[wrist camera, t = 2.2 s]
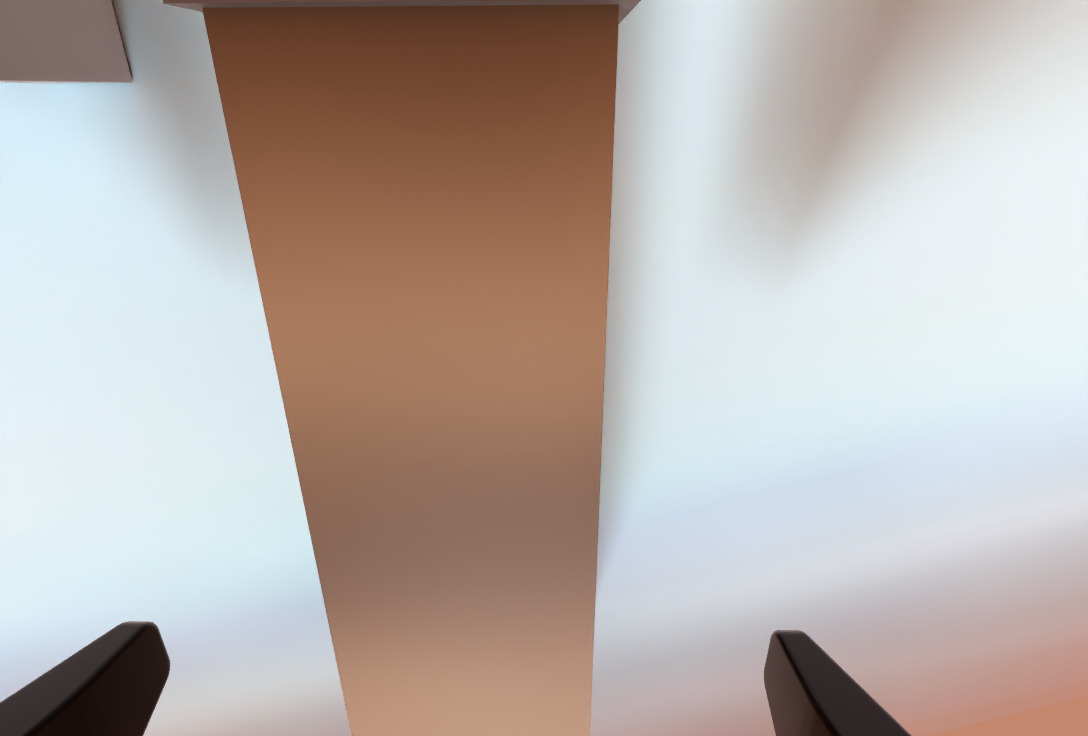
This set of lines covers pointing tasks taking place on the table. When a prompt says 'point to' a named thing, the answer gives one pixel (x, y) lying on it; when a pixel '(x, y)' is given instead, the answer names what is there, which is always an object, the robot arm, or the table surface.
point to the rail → (437, 333)
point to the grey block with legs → (61, 42)
